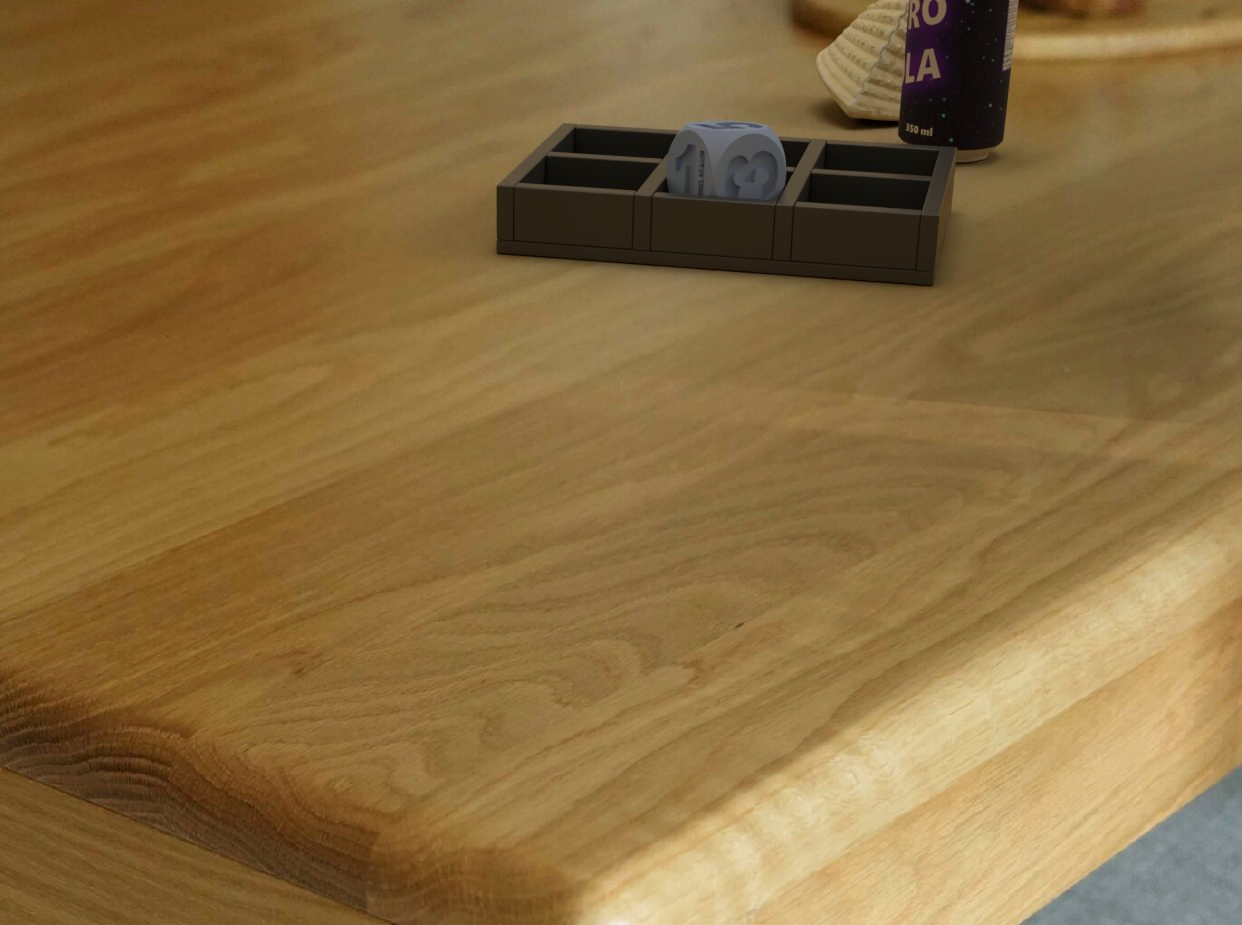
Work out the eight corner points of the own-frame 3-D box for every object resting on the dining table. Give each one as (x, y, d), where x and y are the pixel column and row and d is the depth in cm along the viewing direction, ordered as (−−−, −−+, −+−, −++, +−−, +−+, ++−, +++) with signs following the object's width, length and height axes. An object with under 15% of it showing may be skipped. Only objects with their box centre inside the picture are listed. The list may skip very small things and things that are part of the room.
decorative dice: (663, 212, 95) (666, 122, 94) (735, 206, 97) (739, 118, 95) (711, 225, 92) (715, 132, 90) (784, 219, 94) (790, 128, 92)
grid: (951, 210, 102) (957, 147, 100) (932, 285, 90) (939, 215, 89) (561, 183, 106) (562, 122, 104) (496, 253, 94) (496, 185, 93)
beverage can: (925, 137, 116) (945, -89, 111) (1018, 151, 113) (1044, -80, 108) (878, 155, 112) (896, -78, 107) (973, 171, 109) (998, -69, 104)
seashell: (981, 63, 124) (986, 13, 116) (907, 184, 124) (906, 143, 116) (865, 0, 125) (862, -53, 117) (792, 120, 126) (783, 76, 118)
